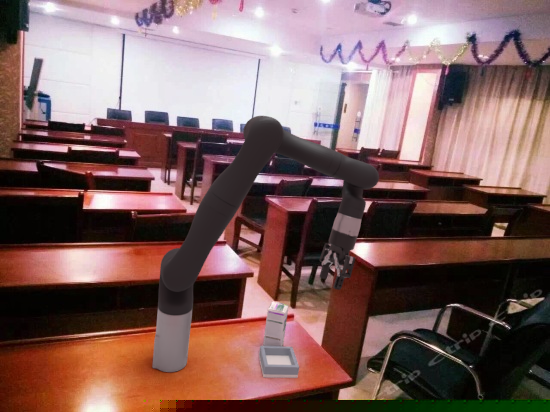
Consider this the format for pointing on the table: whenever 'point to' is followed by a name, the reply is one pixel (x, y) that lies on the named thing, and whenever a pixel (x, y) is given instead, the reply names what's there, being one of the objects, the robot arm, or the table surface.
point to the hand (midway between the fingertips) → (329, 283)
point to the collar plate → (278, 362)
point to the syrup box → (275, 324)
